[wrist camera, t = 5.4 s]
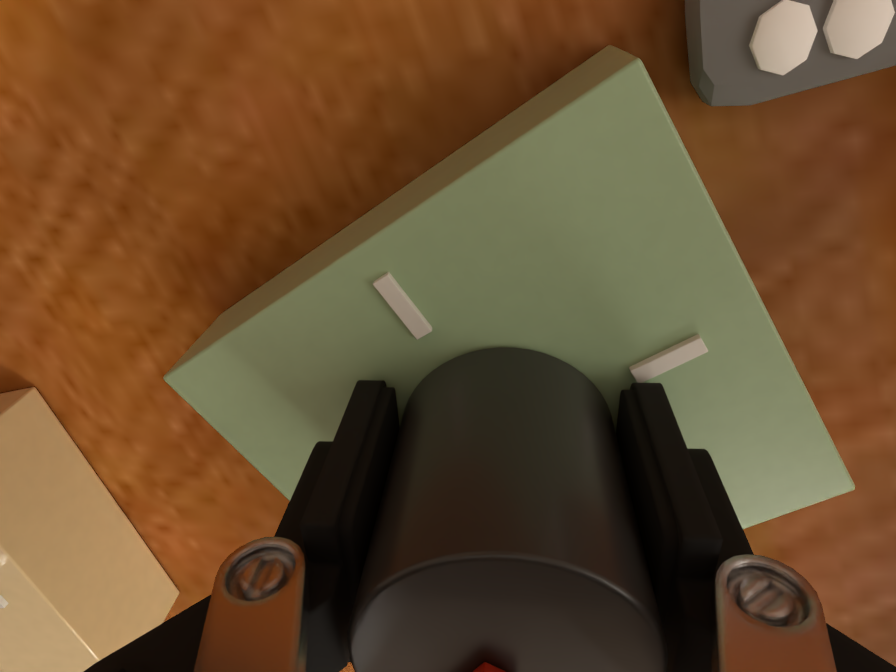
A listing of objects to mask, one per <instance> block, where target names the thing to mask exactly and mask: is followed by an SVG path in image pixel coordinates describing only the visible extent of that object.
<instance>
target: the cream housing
mask: <svg viewBox="0 0 896 672" xmlns="http://www.w3.org/2000/svg"><path fill="white" fill-rule="evenodd" d="M178 595H179V591H178V589H177V588H176V586H175V585H174V584H173V582H172V581H171V579H170V578H169V577H168V575H167V574H166V572H165V571H164V569H163V568H162V567H161V565H160V564H159V562H158V561H157V559H156V558H155V557H154V555H153V554H152V552H151V551H150V550H149V548H148V547H147V545H146V544H145V542H144V541H143V540H142V538H141V537H140V535H139V534H138V532H137V531H136V530H135V528H134V527H133V525H132V524H131V523H130V521H129V520H128V518H127V517H126V515H125V514H124V513H123V511H122V510H121V508H120V507H119V505H118V504H117V503H116V501H115V500H114V498H113V497H112V496H111V494H110V493H109V491H108V490H107V488H106V487H105V486H104V484H103V483H102V481H101V480H100V478H99V477H98V476H97V474H96V473H95V471H94V470H93V469H92V467H91V466H90V464H89V463H88V461H87V460H86V459H85V457H84V456H83V454H82V453H81V451H80V450H79V449H78V447H77V446H76V444H75V443H74V442H73V440H72V439H71V437H70V436H69V434H68V433H67V432H66V430H65V429H64V427H63V426H62V424H61V423H60V422H59V420H58V419H57V417H56V416H55V415H54V413H53V412H52V410H51V409H50V407H49V406H48V405H47V403H46V402H45V400H44V399H43V397H42V396H41V395H40V393H39V392H38V390H37V389H36V388H35V387H31V388H26V389H21V390H16V391H11V392H6V393H1V394H0V672H84V671H85V670H86V669H88V668H89V667H91V666H92V665H93V664H95V663H96V662H98V661H100V660H101V659H103V658H105V657H106V656H108V655H110V654H111V653H113V652H115V651H117V650H118V649H120V648H122V647H123V646H125V645H127V644H128V643H130V642H132V641H133V640H135V639H137V638H139V637H140V636H142V635H144V634H145V633H147V632H149V631H150V630H152V629H154V628H155V627H157V626H159V625H161V624H162V623H163V622H164V620H165V618H166V616H167V615H168V613H169V611H170V609H171V607H172V606H173V604H174V602H175V600H176V598H177V597H178Z"/></svg>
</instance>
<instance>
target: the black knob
mask: <svg viewBox="0 0 896 672" xmlns="http://www.w3.org/2000/svg"><path fill="white" fill-rule="evenodd" d="M347 644H348V650H349V655H350V660H351V663H352V665H353V668H354V670H355V672H666V669H667V664H668V650H667V645H666V640H665V636H664V631H663V627H662V623H661V619H660V615H659V611H658V607H657V602H656V598H655V594H654V590H653V586H652V582H651V577H650V573H649V569H648V565H647V561H646V557H645V553H644V548H643V544H642V540H641V536H640V532H639V528H638V524H637V519H636V515H635V511H634V507H633V503H632V499H631V494H630V490H629V486H628V482H627V478H626V474H625V470H624V465H623V461H622V457H621V453H620V449H619V445H618V441H617V436H616V432H615V428H614V424H613V420H612V416H611V412H610V410H609V407H608V405H607V402H606V401H605V399H604V397H603V396H602V394H601V392H600V391H599V390H598V389H597V387H596V386H595V385H594V384H593V383H592V382H591V381H590V380H589V379H588V378H587V377H586V376H585V375H584V374H583V373H581V372H580V371H578V370H577V369H576V368H574V367H573V366H571V365H570V364H568V363H566V362H564V361H562V360H560V359H558V358H556V357H553V356H551V355H548V354H545V353H542V352H538V351H534V350H530V349H523V348H515V347H497V348H487V349H481V350H476V351H472V352H469V353H466V354H463V355H460V356H457V357H455V358H453V359H451V360H449V361H447V362H445V363H443V364H442V365H440V366H439V367H437V368H436V369H434V370H433V371H432V372H430V373H429V374H428V375H427V376H426V377H425V378H424V379H423V380H422V381H421V382H420V383H419V384H418V386H417V387H416V388H415V389H414V391H413V393H412V394H411V396H410V397H409V400H408V402H407V404H406V407H405V409H404V413H403V417H402V421H401V425H400V429H399V433H398V436H397V440H396V444H395V448H394V452H393V456H392V460H391V463H390V467H389V471H388V475H387V479H386V483H385V487H384V490H383V494H382V498H381V502H380V506H379V510H378V514H377V518H376V521H375V525H374V529H373V533H372V537H371V541H370V545H369V548H368V552H367V556H366V560H365V564H364V568H363V572H362V575H361V579H360V583H359V587H358V591H357V595H356V599H355V602H354V606H353V610H352V614H351V618H350V622H349V626H348V632H347Z"/></svg>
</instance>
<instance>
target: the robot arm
mask: <svg viewBox="0 0 896 672" xmlns="http://www.w3.org/2000/svg"><path fill="white" fill-rule="evenodd" d="M399 429H400V426H399V417H398V409H397V400H396V392H395V388H394V387H387V386H386V383H385V381H384V380H359V381H357V383H356V385H355V387H354V390H353V392H352V395H351V397H350V400H349V402H348V405H347V407H346V410H345V412H344V415H343V417H342V420H341V422H340V425H339V427H338V430H337V432H336V435H335V437H334V440H333V441H319V442H317V443H316V444H315V446H314V448H313V450H312V452H311V454H310V457H309V459H308V461H307V463H306V466H305V468H304V470H303V472H302V475H301V477H300V479H299V482H298V484H297V486H296V488H295V491H294V493H293V495H292V498H291V500H290V502H289V504H288V507H287V509H286V511H285V513H284V516H283V518H282V520H281V523H280V525H279V527H278V529H277V532H276V534H275V536H274V537H264V538H260V539H257V540H253V541H251V542H249V543H247V544H245V545H243V546H241V547H239V548H238V549H236V550H235V551H234V552H233V553H231V554H230V555H229V556H228V557H227V558H226V560H225V561H224V562H223V563H222V565H221V566H220V568H219V570H218V573H217V575H216V577H215V582H214V586H213V590H212V594H211V595H210V596H208V597H206V598H205V599H203V600H201V601H199V602H198V603H196V604H194V605H193V606H191V607H189V608H188V609H186V610H184V611H183V612H181V613H179V614H177V615H176V616H174V617H172V618H171V619H169V620H167V621H166V622H164V623H162V624H161V625H159V626H157V627H155V628H154V629H152V630H150V631H149V632H147V633H145V634H144V635H142V636H140V637H139V638H137V639H135V640H133V641H132V642H130V643H128V644H127V645H125V646H123V647H122V648H120V649H118V650H117V651H115V652H113V653H111V654H110V655H108V656H106V657H105V658H103V659H101V660H100V661H98V662H96V663H95V664H93V665H92V666H91V667H89V668H88V669H86V670H85V671H84V672H339V671H340V670H342V669H343V668H344V667H346V666H347V663H348V662H351V660H350V655H349V650H348V644H347V632H348V626H349V622H350V618H351V614H352V610H353V606H354V602H355V599H356V595H357V591H358V587H359V583H360V579H361V575H362V572H363V568H364V564H365V560H366V556H367V552H368V548H369V545H370V541H371V537H372V533H373V529H374V525H375V521H376V518H377V514H378V510H379V506H380V502H381V498H382V494H383V490H384V487H385V483H386V479H387V475H388V471H389V467H390V463H391V460H392V456H393V452H394V448H395V444H396V440H397V436H398V433H399ZM616 436H617V441H618V445H619V449H620V453H621V457H622V461H623V465H624V470H625V474H626V478H627V482H628V486H629V490H630V494H631V499H632V503H633V507H634V511H635V515H636V519H637V524H638V528H639V532H640V536H641V540H642V544H643V548H644V553H645V557H646V561H647V565H648V569H649V573H650V577H651V582H652V586H653V590H654V594H655V598H656V602H657V607H658V611H659V615H660V619H661V623H662V627H663V631H664V636H665V640H666V645H667V650H668V664H667V669H666V672H896V667H895V666H893V665H891V664H890V663H888V662H887V661H885V660H884V659H882V658H880V657H879V656H877V655H876V654H874V653H873V652H871V651H869V650H868V649H866V648H865V647H863V646H861V645H860V644H858V643H857V642H855V641H854V640H852V639H850V638H849V637H847V636H846V635H844V634H842V633H841V632H839V631H838V630H836V629H835V628H833V627H831V626H830V625H828V624H827V623H826V621H825V617H824V613H823V608H822V604H821V602H820V600H819V597H818V595H817V592H816V591H815V590H814V588H813V587H812V586H811V585H810V583H809V582H808V581H807V580H806V579H805V578H804V577H803V576H801V575H800V574H799V573H798V572H796V571H795V570H794V569H793V568H791V567H789V566H787V565H785V564H783V563H781V562H779V561H777V560H774V559H771V558H768V557H765V556H760V555H754V554H753V552H752V550H751V547H750V545H749V543H748V540H747V538H746V536H745V534H744V531H743V529H742V527H741V524H740V522H739V520H738V517H737V515H736V513H735V511H734V508H733V506H732V504H731V501H730V499H729V497H728V494H727V492H726V490H725V488H724V485H723V483H722V481H721V478H720V476H719V474H718V471H717V469H716V467H715V465H714V462H713V460H712V458H711V456H710V454H709V452H708V451H707V450H705V449H688V448H687V446H686V444H685V441H684V439H683V436H682V434H681V431H680V428H679V426H678V423H677V421H676V418H675V416H674V413H673V410H672V408H671V405H670V403H669V400H668V398H667V395H666V393H665V390H664V387H663V385H662V384H661V383H632V384H631V387H630V390H621V393H620V400H619V409H618V418H617V427H616Z"/></svg>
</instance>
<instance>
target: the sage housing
mask: <svg viewBox="0 0 896 672" xmlns="http://www.w3.org/2000/svg"><path fill="white" fill-rule="evenodd" d="M497 347H515V348H523V349H530V350H534V351H538V352H542V353H545V354H548V355H551V356H553V357H556V358H558V359H560V360H562V361H564V362H566V363H568V364H570V365H571V366H573V367H574V368H576V369H577V370H578V371H580V372H581V373H583V374H584V375H585V376H586V377H587V378H588V379H589V380H590V381H591V382H592V383H593V384H594V385H595V386H596V387H597V389H598V390H599V391H600V392H601V394H602V396H603V397H604V399H605V401H606V402H607V405H608V407H609V410H610V412H611V416H612V420H613V424H614V428H615V432H616V427H617V418H618V409H619V400H620V393H621V390H630V387H631V384H632V383H661V384H662V385H663V387H664V390H665V393H666V395H667V398H668V400H669V403H670V405H671V408H672V410H673V413H674V416H675V418H676V421H677V423H678V426H679V428H680V431H681V434H682V436H683V439H684V441H685V444H686V446H687V448H688V449H705V450H707V451H708V452H709V454H710V456H711V458H712V460H713V462H714V465H715V467H716V469H717V471H718V474H719V476H720V478H721V481H722V483H723V485H724V488H725V490H726V492H727V494H728V497H729V499H730V501H731V504H732V506H733V508H734V511H735V513H736V515H737V517H738V520H739V522H740V524H741V527H742V529H745V528H748V527H750V526H753V525H756V524H759V523H762V522H765V521H767V520H770V519H773V518H776V517H779V516H782V515H784V514H787V513H790V512H793V511H796V510H799V509H801V508H804V507H807V506H810V505H813V504H816V503H818V502H821V501H824V500H827V499H830V498H833V497H835V496H838V495H841V494H844V493H847V492H850V491H852V490H854V489H855V485H854V483H853V481H852V479H851V477H850V475H849V473H848V471H847V469H846V467H845V465H844V463H843V461H842V459H841V457H840V455H839V453H838V451H837V449H836V447H835V445H834V443H833V441H832V439H831V437H830V435H829V433H828V431H827V429H826V427H825V425H824V423H823V421H822V419H821V417H820V415H819V413H818V411H817V409H816V407H815V405H814V403H813V401H812V399H811V397H810V395H809V393H808V391H807V389H806V387H805V385H804V383H803V381H802V379H801V377H800V375H799V373H798V371H797V369H796V367H795V365H794V363H793V361H792V359H791V357H790V355H789V353H788V351H787V349H786V347H785V345H784V343H783V341H782V339H781V337H780V335H779V333H778V331H777V329H776V327H775V325H774V323H773V321H772V319H771V317H770V315H769V313H768V311H767V309H766V307H765V305H764V303H763V301H762V299H761V297H760V295H759V293H758V291H757V289H756V287H755V285H754V284H753V282H752V280H751V278H750V276H749V274H748V272H747V270H746V268H745V266H744V264H743V262H742V260H741V258H740V256H739V254H738V252H737V250H736V248H735V246H734V244H733V242H732V240H731V238H730V236H729V234H728V232H727V230H726V228H725V226H724V224H723V222H722V220H721V218H720V216H719V214H718V212H717V210H716V208H715V206H714V204H713V202H712V200H711V198H710V196H709V194H708V192H707V190H706V188H705V186H704V184H703V182H702V180H701V178H700V176H699V174H698V172H697V170H696V168H695V166H694V164H693V162H692V160H691V158H690V156H689V154H688V152H687V150H686V148H685V146H684V144H683V142H682V140H681V138H680V136H679V134H678V132H677V130H676V128H675V126H674V124H673V122H672V120H671V118H670V116H669V114H668V112H667V110H666V108H665V106H664V104H663V102H662V100H661V98H660V96H659V94H658V92H657V90H656V88H655V86H654V84H653V82H652V80H651V78H650V76H649V74H648V72H647V70H646V68H645V66H644V64H643V62H642V60H641V59H639V58H638V57H636V56H634V55H631V54H629V53H627V52H625V51H623V50H621V49H619V48H616V47H614V46H612V45H608V46H606V47H605V48H604V49H602V50H601V51H599V52H598V53H596V54H595V55H593V56H592V57H591V58H589V59H588V60H586V61H585V62H583V63H582V64H580V65H579V66H578V67H576V68H575V69H573V70H572V71H570V72H569V73H567V74H566V75H565V76H563V77H562V78H560V79H559V80H557V81H556V82H555V83H553V84H552V85H550V86H549V87H547V88H546V89H544V90H543V91H542V92H540V93H539V94H537V95H536V96H534V97H533V98H531V99H530V100H529V101H527V102H526V103H524V104H523V105H521V106H520V107H518V108H517V109H516V110H514V111H513V112H511V113H510V114H508V115H507V116H506V117H504V118H503V119H501V120H500V121H498V122H497V123H495V124H494V125H493V126H491V127H490V128H488V129H487V130H485V131H484V132H482V133H481V134H480V135H478V136H477V137H475V138H474V139H472V140H471V141H469V142H468V143H467V144H465V145H464V146H462V147H461V148H459V149H458V150H457V151H455V152H454V153H452V154H451V155H449V156H448V157H446V158H445V159H444V160H442V161H441V162H439V163H438V164H436V165H435V166H433V167H432V168H431V169H429V170H428V171H426V172H425V173H423V174H422V175H420V176H419V177H418V178H416V179H415V180H413V181H412V182H410V183H409V184H407V185H406V186H405V187H403V188H402V189H400V190H399V191H397V192H396V193H395V194H393V195H392V196H390V197H389V198H387V199H386V200H384V201H383V202H382V203H380V204H379V205H377V206H376V207H374V208H373V209H371V210H370V211H369V212H367V213H366V214H364V215H363V216H361V217H360V218H358V219H357V220H356V221H354V222H353V223H351V224H350V225H348V226H347V227H346V228H344V229H343V230H341V231H340V232H338V233H337V234H335V235H334V236H333V237H331V238H330V239H328V240H327V241H325V242H324V243H322V244H321V245H320V246H318V247H317V248H315V249H314V250H312V251H311V252H309V253H308V254H307V255H305V256H304V257H302V258H301V259H299V260H298V261H297V262H295V263H294V264H292V265H291V266H289V267H288V268H286V269H285V270H284V271H282V272H281V273H279V274H278V275H276V276H275V277H273V278H272V279H271V280H269V281H268V282H266V283H265V284H263V285H262V286H260V287H259V288H258V289H256V290H255V291H253V292H252V293H250V294H249V295H247V296H246V297H245V298H243V299H242V300H240V301H239V302H237V303H236V304H235V305H233V306H232V307H230V308H229V309H227V310H226V311H224V312H223V313H222V314H220V315H219V317H218V318H217V319H216V320H215V321H214V322H213V323H212V324H211V325H210V326H209V327H208V328H207V330H206V331H205V332H204V333H203V334H202V335H201V336H200V337H199V338H198V339H197V340H196V342H195V343H194V344H193V345H192V346H191V347H190V348H189V349H188V350H187V351H186V352H185V354H184V355H183V356H182V357H181V358H180V359H179V360H178V361H177V362H176V363H175V364H174V365H173V367H172V368H171V369H170V370H169V371H168V372H167V373H166V374H165V375H164V377H163V379H164V380H165V381H166V382H167V383H168V384H169V385H170V386H171V387H172V388H173V389H174V390H175V391H176V392H177V393H178V394H179V395H180V396H181V397H182V398H183V399H184V400H185V401H186V402H187V403H188V404H189V405H191V406H192V407H193V408H194V409H195V410H196V411H197V412H198V413H199V414H200V415H201V416H202V417H203V418H204V419H205V420H206V421H207V422H208V423H209V424H210V425H211V426H212V427H213V428H214V429H215V430H217V431H218V432H219V433H220V434H221V435H222V436H223V437H224V438H225V439H226V440H227V441H228V442H229V443H230V444H231V445H232V446H233V447H234V448H235V449H236V450H237V451H238V452H239V453H240V454H241V455H243V456H244V457H245V458H246V459H247V460H248V461H249V462H250V463H251V464H252V465H253V466H254V467H255V468H256V469H257V470H258V471H259V472H260V473H261V474H262V475H263V476H264V477H265V478H266V479H267V480H269V481H270V482H271V483H272V484H273V485H274V486H275V487H276V488H277V489H278V490H279V491H280V492H281V493H282V494H283V495H284V496H285V497H286V498H287V499H288V500H289V501H290V500H291V498H292V495H293V493H294V491H295V488H296V486H297V484H298V482H299V479H300V477H301V475H302V472H303V470H304V468H305V466H306V463H307V461H308V459H309V457H310V454H311V452H312V450H313V448H314V446H315V444H316V443H317V442H319V441H333V440H334V437H335V435H336V432H337V430H338V427H339V425H340V422H341V420H342V417H343V415H344V412H345V410H346V407H347V405H348V402H349V400H350V397H351V395H352V392H353V390H354V387H355V385H356V383H357V381H359V380H384V381H385V383H386V386H387V387H394V388H395V392H396V400H397V409H398V417H399V426H400V425H401V421H402V417H403V413H404V409H405V407H406V404H407V402H408V400H409V397H410V396H411V394H412V393H413V391H414V389H415V388H416V387H417V386H418V384H419V383H420V382H421V381H422V380H423V379H424V378H425V377H426V376H427V375H428V374H429V373H430V372H432V371H433V370H434V369H436V368H437V367H439V366H440V365H442V364H443V363H445V362H447V361H449V360H451V359H453V358H455V357H457V356H460V355H463V354H466V353H469V352H472V351H476V350H481V349H487V348H497Z"/></svg>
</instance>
